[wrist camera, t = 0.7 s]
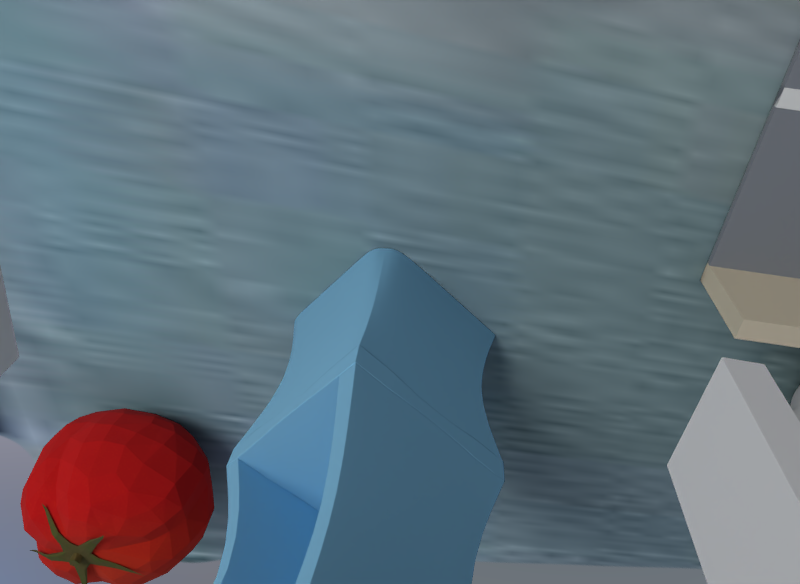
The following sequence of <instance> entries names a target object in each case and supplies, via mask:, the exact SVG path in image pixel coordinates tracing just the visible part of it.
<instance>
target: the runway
mask: <svg viewBox="0 0 800 584" xmlns="http://www.w3.org/2000/svg"><path fill="white" fill-rule="evenodd" d="M700 280H701V282H702V284H703V285H704V287H705V289H706V290H707V292H708V294H709V296H710V297H711V299H712V301H713V302H714V304H715V306H716V307H717V309H718V311H719V313H720V314H721V316H722V318H723V319H724V321H725V323H726V324H727V326H728V328H729V330H730V331H731V333H732V335H733V336H734V338H735V339H742V340H749V341H756V342H763V343H770V344H776V345H783V346H790V347H797V348H800V41H799V44H798V46H797V48H796V51H795V53H794V56H793V58H792V60H791V63H790V65H789V68H788V70H787V72H786V75H785V77H784V80H783V82H782V84H781V87H780V89H779V92H778V94H777V97H776V99H775V101H774V104H773V106H772V109H771V111H770V113H769V116H768V118H767V121H766V123H765V125H764V128H763V130H762V133H761V135H760V137H759V140H758V142H757V145H756V147H755V149H754V152H753V154H752V157H751V159H750V162H749V164H748V166H747V169H746V171H745V174H744V176H743V178H742V181H741V183H740V186H739V188H738V190H737V193H736V195H735V198H734V200H733V202H732V205H731V207H730V210H729V212H728V214H727V217H726V219H725V222H724V224H723V227H722V229H721V231H720V234H719V236H718V239H717V241H716V243H715V246H714V248H713V251H712V253H711V255H710V258H709V260H708V263H707V265H706V267H705V270H704V272H703V275H702V277H701V279H700Z"/></svg>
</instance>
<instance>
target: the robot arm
mask: <svg viewBox="0 0 800 584" xmlns="http://www.w3.org/2000/svg"><path fill="white" fill-rule="evenodd" d="M18 357H19V353H18V348H17V343H16V339H15V334H14V329H13V324H12V319H11V315H10V310H9V305H8V300H7V296H6V291H5V286H4V281H3V276H2V272H1V267H0V377H1V375H2V374H3V373H4V372H5V371H6V370H7V369H8V368H9V367H10V366H11V365H12V364H13V363H14V362H15V361H16V360H17V358H18ZM667 467H668V470H669V473H670V475H671V478H672V481H673V484H674V487H675V490H676V493H677V496H678V499H679V502H680V505H681V508H682V511H683V514H684V517H685V520H686V522H687V525H688V528H689V531H690V534H691V537H692V540H693V543H694V546H695V549H696V552H697V555H698V558H699V561H700V564H701V567H702V569H703V572H704V575H705V578H706V581H707V584H800V422H799V420H798V418H797V417H796V415H795V414H794V412H793V410H792V409H791V407H790V405H789V404H788V402H787V400H786V399H785V397H784V396H783V394H782V392H781V391H780V389H779V387H778V386H777V384H776V383H775V381H774V379H773V378H772V376H771V374H770V373H769V371H768V369H767V368H766V366H765V365H764V364H759V363H753V362H747V361H741V360H735V359H729V358H724V357H722V358H721V360H720V362H719V364H718V366H717V368H716V370H715V372H714V374H713V376H712V378H711V380H710V382H709V384H708V386H707V388H706V390H705V392H704V393H703V395H702V397H701V399H700V401H699V403H698V405H697V407H696V409H695V411H694V413H693V415H692V417H691V419H690V421H689V423H688V425H687V427H686V429H685V431H684V433H683V435H682V437H681V439H680V441H679V443H678V445H677V447H676V448H675V450H674V452H673V454H672V456H671V458H670V460H669V462H668V464H667Z"/></svg>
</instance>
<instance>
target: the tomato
mask: <svg viewBox="0 0 800 584" xmlns="http://www.w3.org/2000/svg"><path fill="white" fill-rule="evenodd" d="M21 510H22V516H23V522H24V530H25V531H26V532H27V533H28V534H29V535H31V536H32V537H33V538H34V539H35V540H36V541H37V548H38V551H37V550H32V551H35V552H37V553H38V555H39V558H40V560H41V561H42V563H44V564H45V565H46V566H47V567H48V568H49V569H50V570H51V571H52V572H54V573H55V574H56V575H57V576H60V577H62V578H64V579H67V580H69V581H71V582H73V583H75V584H80V583H82V584H87V583H89V582H99V581H104V582H107V583H111V584H144V583H146V582H148V581H150V580H153V579H155V578H157V577H159V576H161V575H164V574H166V573H168V572H169V571H170V570H171V569H172V568H173V567H174V566H175V565H177V564H178V563H179V562H180V561H181V560H182V559H183V558H184V557H185V556H186V555H188V554H189V553H190V552H191V551H192V550H193V549H194V547H195V546H196V545H197V544H198V542H199V541H200V540H201V539H202V537H203V535H204V533H205V530H206V528H207V525H208V523H209V520H210V517H211V515H212V512H213V510H214V499H213V489H212V482H211V476H210V469H209V463H208V459H207V457H206V455H205V454H204V452H203V451H202V449H201V447H200V446H199V444H198V443H197V441H196V440H195V438H194V437H193V436H192V435H191V434H190V433H189V432H188V431H187V430H186V429H185V428H183V427H182V426H181V425H180V424H178V423H176V422H174V421H171V420H169V419H166V418H164V417H161V416H159V415H157V414H152V413H147V412H141V411H136V410H130V409H125V408H124V409H117V410H109V411H101V412H95V413H92V414H89V415H86V416H82V417H79V418H78V419H76V420H74V421H72V422H71V423H69V424H67V425H66V426H65V427H64V428H63V429H61V430H60V431H59V432H58V433H57V434H56V435H55V436H54V437H53V438H52V439H51V440H50V441H49V442H48V443H47V444H46V445H45V446H44V448H43V450H42V452H41V454H40V456H39V458H38V460H37V462H36V464H35V466H34V468H33V470H32V472H31V474H30V476H29V478H28V480H27V483H26V484H25V486H24V488H23V492H22V498H21Z"/></svg>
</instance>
